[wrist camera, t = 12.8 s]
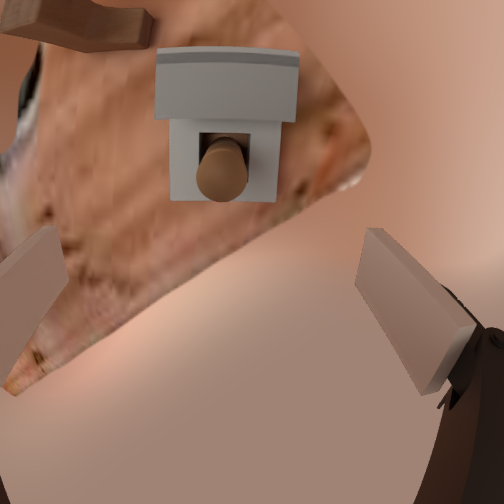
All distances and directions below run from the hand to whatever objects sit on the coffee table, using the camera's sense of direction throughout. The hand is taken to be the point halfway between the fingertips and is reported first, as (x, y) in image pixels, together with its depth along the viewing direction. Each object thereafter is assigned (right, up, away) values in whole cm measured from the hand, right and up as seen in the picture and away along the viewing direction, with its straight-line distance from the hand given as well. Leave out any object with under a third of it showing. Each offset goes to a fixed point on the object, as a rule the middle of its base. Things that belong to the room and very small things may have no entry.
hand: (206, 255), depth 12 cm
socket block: (-1, +15, +22) cm, 27 cm away
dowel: (-2, +12, +24) cm, 27 cm away
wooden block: (-15, +27, +16) cm, 34 cm away
